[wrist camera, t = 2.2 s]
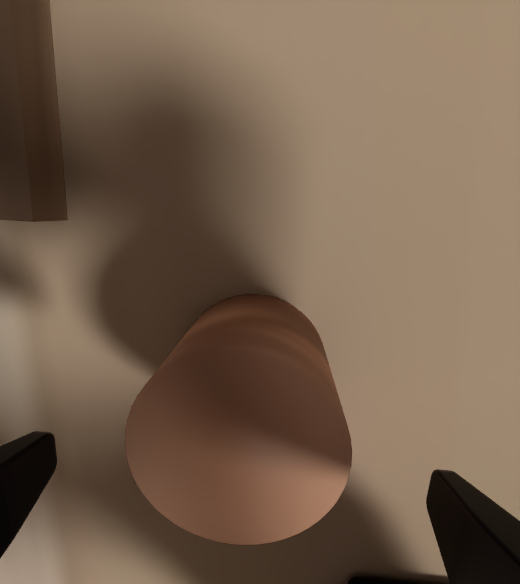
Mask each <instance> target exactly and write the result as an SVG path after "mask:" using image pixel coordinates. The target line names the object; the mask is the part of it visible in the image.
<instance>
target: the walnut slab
mask: <svg viewBox="0 0 520 584" xmlns="http://www.w3.org/2000/svg"><path fill="white" fill-rule="evenodd" d="M0 220H15V221H31V222H37V221H60V220H68V218H67V206H66V194H65V182H64V170H63V158H62V146H61V134H60V122H59V110H58V98H57V86H56V74H55V62H54V50H53V38H52V26H51V13H50V1H49V0H0Z"/></svg>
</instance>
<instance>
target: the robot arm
mask: <svg viewBox="0 0 520 584" xmlns="http://www.w3.org/2000/svg"><path fill="white" fill-rule="evenodd" d="M56 465H57V456H56V447H55V438H54V435H53V434H52V433H50V432H41V431H35V432H32V433H29V434H27V435H25V436H22V437H20V438H18V439H16V440H13V441H11V442H9V443H7V444H4V445H2V446H0V558H1V557H2V555H3V554H4V552H5V551H6V550H7V548H8V547H9V545H10V544H11V542H12V541H13V539H14V538H15V536H16V535H17V533H18V531H19V530H20V528H21V527H22V525H23V523H24V522H25V520H26V518H27V517H28V515H29V513H30V512H31V510H32V508H33V507H34V505H35V503H36V502H37V500H38V498H39V496H40V495H41V493H42V491H43V490H44V488H45V486H46V485H47V483H48V481H49V480H50V478H51V476H52V475H53V473H54V471H55V469H56ZM426 504H427V510H428V514H429V517H430V520H431V523H432V527H433V530H434V533H435V536H436V540H437V543H438V546H439V549H440V553H441V556H442V559H443V562H444V566H445V569H446V572H447V575H448V578H449V581H450V584H520V521H519V520H518V519H516V518H515V517H514V516H512V515H511V514H510V513H508V512H507V511H506V510H504V509H503V508H502V507H500V506H499V505H498V504H496V503H495V502H494V501H492V500H491V499H490V498H488V497H487V496H486V495H484V494H483V493H482V492H480V491H479V490H478V489H476V488H475V487H474V486H472V485H471V484H470V483H469V482H467V481H466V480H465V479H463V478H462V477H461V476H459V475H458V474H457V473H455V472H453V471H448V470H438V469H437V470H434V471H433V472H432V475H431V479H430V484H429V489H428V494H427V499H426ZM347 584H417V583H408V582H399V581H390V580H381V579H373V578H364V577H354V578H352V579H350V580H349V581H348V583H347Z"/></svg>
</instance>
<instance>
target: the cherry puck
mask: <svg viewBox="0 0 520 584" xmlns="http://www.w3.org/2000/svg"><path fill="white" fill-rule="evenodd" d="M125 449H126V457H127V460H128V464H129V468H130V470H131V473H132V475H133V478H134V480H135V482H136V483H137V485H138V487H139V489H140V490H141V492H142V493H143V495H144V496H145V497H146V498H147V500H148V501H149V502H150V503H151V504H152V505H153V506H154V507H155V508H156V509H157V510H158V512H160V513H161V514H162V515H163V516H165V517H166V518H167V519H168V520H170V521H171V522H173V523H174V524H176V525H177V526H179V527H181V528H183V529H185V530H186V531H188V532H190V533H192V534H195V535H198V536H200V537H203V538H206V539H209V540H213V541H217V542H222V543H228V544H238V545H255V544H264V543H271V542H275V541H279V540H283V539H286V538H289V537H291V536H294V535H296V534H298V533H300V532H302V531H304V530H306V529H308V528H309V527H311V526H312V525H314V524H315V523H316V522H318V521H319V520H320V519H321V518H323V517H324V516H325V515H326V514H327V513H328V512H329V511H330V510H331V508H332V507H333V506H334V505H335V503H336V502H337V501H338V499H339V497H340V495H341V494H342V492H343V490H344V488H345V485H346V483H347V480H348V478H349V473H350V469H351V461H352V447H351V438H350V434H349V430H348V426H347V423H346V419H345V416H344V413H343V409H342V406H341V403H340V400H339V396H338V393H337V390H336V386H335V383H334V380H333V377H332V373H331V370H330V367H329V363H328V360H327V357H326V353H325V350H324V347H323V344H322V341H321V339H320V336H319V334H318V332H317V330H316V329H315V327H314V326H313V324H312V323H311V322H310V320H309V319H308V318H307V317H306V316H305V315H304V314H303V313H302V312H300V311H299V310H298V309H296V308H295V307H294V306H292V305H290V304H288V303H287V302H285V301H282V300H280V299H277V298H274V297H270V296H266V295H258V294H246V295H238V296H234V297H230V298H227V299H225V300H222V301H220V302H218V303H216V304H214V305H213V306H211V307H210V308H209V309H207V310H206V311H205V312H204V313H203V314H202V315H201V316H200V317H199V318H198V319H197V320H196V321H195V323H194V324H193V325H192V327H191V328H190V329H189V330H188V332H187V333H186V334H185V335H184V337H183V338H182V339H181V340H180V342H179V343H178V344H177V346H176V347H175V348H174V349H173V351H172V352H171V353H170V354H169V356H168V357H167V358H166V359H165V361H164V362H163V363H162V365H161V366H160V367H159V368H158V370H157V371H156V372H155V373H154V375H153V376H152V377H151V378H150V380H149V381H148V382H147V384H146V385H145V386H144V388H143V389H142V390H141V392H140V393H139V394H138V396H137V398H136V400H135V401H134V403H133V405H132V407H131V410H130V413H129V416H128V419H127V424H126V430H125Z"/></svg>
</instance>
